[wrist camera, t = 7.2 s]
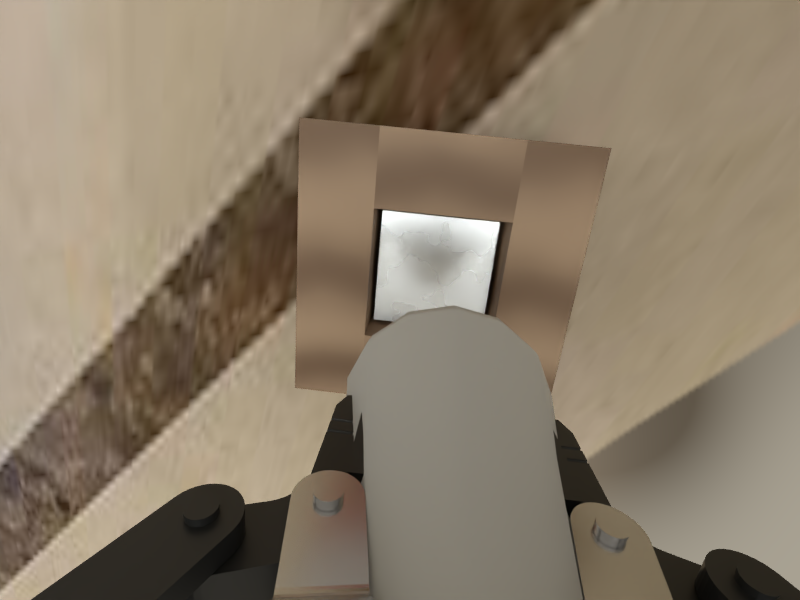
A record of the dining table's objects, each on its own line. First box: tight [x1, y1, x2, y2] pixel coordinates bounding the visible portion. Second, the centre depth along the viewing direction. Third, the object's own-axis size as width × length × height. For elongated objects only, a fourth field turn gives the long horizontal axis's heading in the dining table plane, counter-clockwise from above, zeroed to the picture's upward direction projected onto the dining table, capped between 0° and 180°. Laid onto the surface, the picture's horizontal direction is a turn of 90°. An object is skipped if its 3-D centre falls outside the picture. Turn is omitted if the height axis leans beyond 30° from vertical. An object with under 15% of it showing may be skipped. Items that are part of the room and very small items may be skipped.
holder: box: [295, 118, 611, 394], centre depth 28 cm, size 16×16×8 cm
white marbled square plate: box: [374, 209, 500, 321], centre depth 26 cm, size 7×7×1 cm
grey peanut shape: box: [347, 305, 583, 600], centre depth 8 cm, size 6×6×13 cm
